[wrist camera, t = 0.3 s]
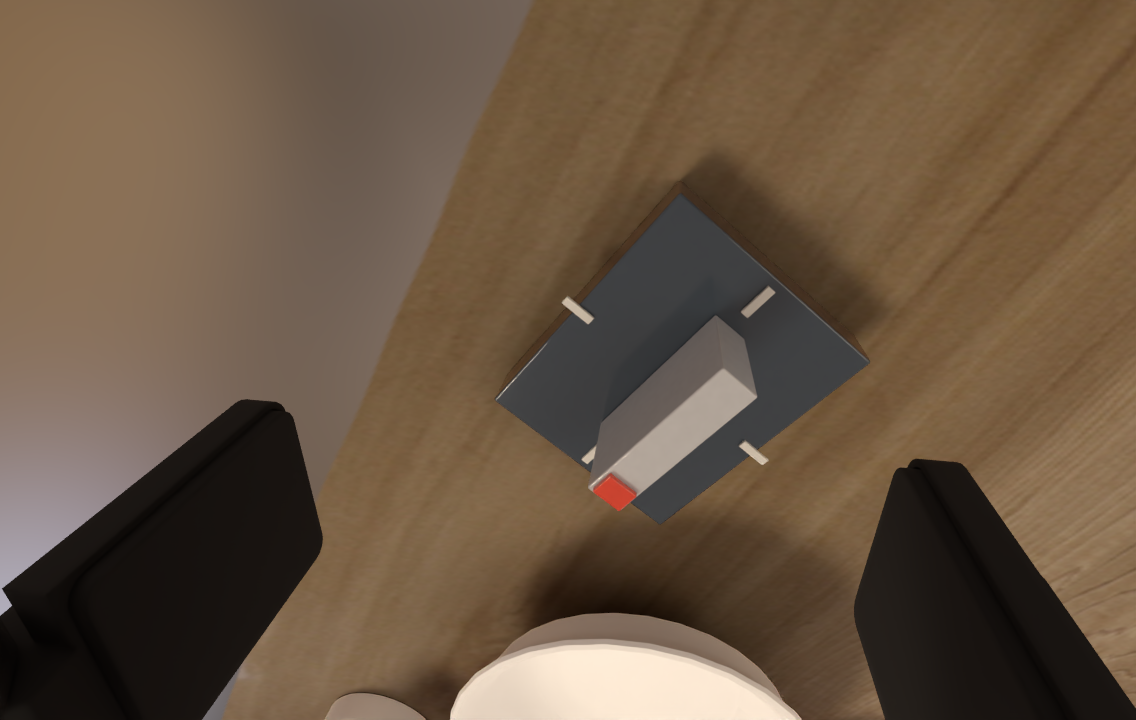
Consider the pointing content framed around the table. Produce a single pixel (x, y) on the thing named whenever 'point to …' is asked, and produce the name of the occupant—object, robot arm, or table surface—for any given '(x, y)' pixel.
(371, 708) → the character figurine
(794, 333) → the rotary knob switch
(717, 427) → the grey block
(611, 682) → the bowl
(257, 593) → the robot arm
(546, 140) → the table surface
